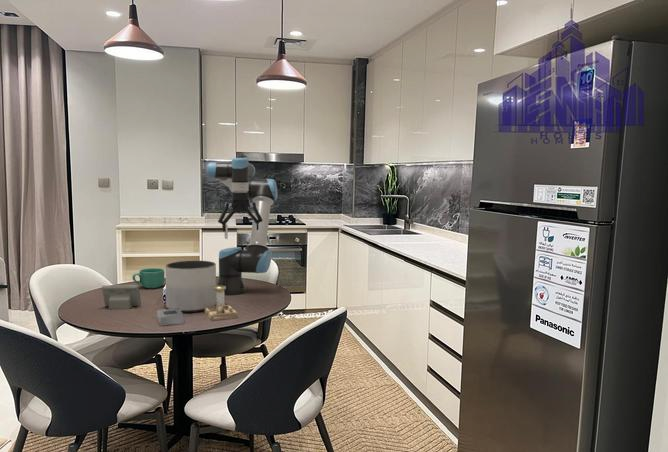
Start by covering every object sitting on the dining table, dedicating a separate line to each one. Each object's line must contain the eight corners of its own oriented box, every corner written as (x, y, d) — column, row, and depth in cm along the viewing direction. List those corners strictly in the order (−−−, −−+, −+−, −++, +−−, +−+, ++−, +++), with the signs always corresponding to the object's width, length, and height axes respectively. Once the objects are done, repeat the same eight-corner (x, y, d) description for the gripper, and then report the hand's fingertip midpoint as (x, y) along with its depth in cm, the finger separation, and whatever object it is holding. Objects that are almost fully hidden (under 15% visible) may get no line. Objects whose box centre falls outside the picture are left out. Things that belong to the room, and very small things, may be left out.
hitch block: (157, 318, 206) (157, 310, 205) (179, 315, 210) (179, 307, 209) (160, 326, 195) (160, 317, 195) (183, 323, 199) (183, 315, 199)
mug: (161, 283, 273) (160, 267, 272) (167, 288, 263) (167, 270, 262) (129, 287, 263) (129, 270, 263) (135, 291, 253) (134, 273, 252)
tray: (204, 312, 215) (204, 307, 215) (229, 309, 220) (229, 304, 220) (211, 320, 203) (211, 315, 203) (237, 317, 208) (237, 312, 208)
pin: (213, 313, 213) (212, 286, 211) (224, 311, 215) (224, 285, 214) (216, 315, 208) (215, 288, 207) (227, 314, 210) (227, 287, 209)
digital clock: (143, 305, 226) (142, 283, 225) (133, 310, 218) (133, 287, 217) (109, 304, 228) (108, 282, 227) (99, 309, 219) (98, 286, 218)
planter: (217, 300, 238) (216, 259, 236) (216, 312, 216) (215, 268, 214) (169, 302, 233) (168, 260, 231) (162, 314, 211) (161, 269, 209)
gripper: (214, 192, 213) (215, 240, 216) (268, 192, 224) (269, 237, 226) (211, 191, 220) (211, 238, 222) (264, 191, 231) (264, 235, 233)
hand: (240, 237), depth 224 cm, fingers open, 13 cm apart
